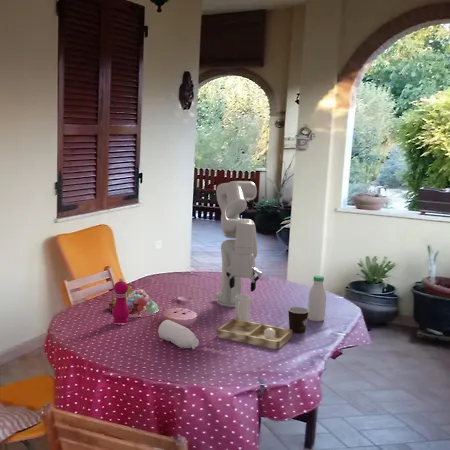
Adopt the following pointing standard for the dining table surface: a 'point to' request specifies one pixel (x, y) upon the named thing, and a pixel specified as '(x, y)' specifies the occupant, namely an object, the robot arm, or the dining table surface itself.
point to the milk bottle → (317, 300)
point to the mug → (242, 307)
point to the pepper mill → (120, 302)
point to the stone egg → (269, 333)
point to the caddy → (253, 333)
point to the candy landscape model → (137, 302)
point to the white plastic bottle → (177, 334)
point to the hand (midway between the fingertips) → (242, 289)
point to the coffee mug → (298, 319)
